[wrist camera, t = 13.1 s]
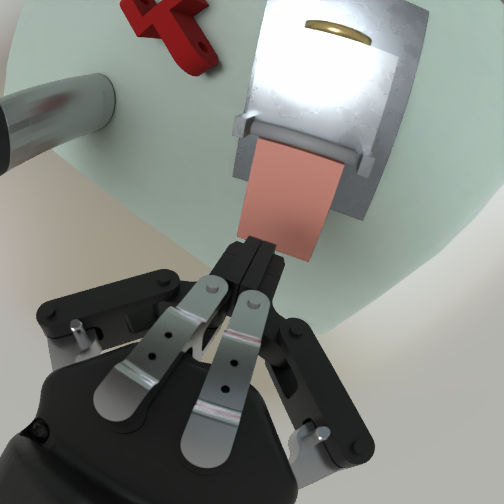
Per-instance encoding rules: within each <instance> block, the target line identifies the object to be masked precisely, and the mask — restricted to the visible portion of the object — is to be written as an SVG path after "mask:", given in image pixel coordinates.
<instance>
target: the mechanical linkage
mask: <svg viewBox="0 0 504 504" xmlns="http://www.w3.org/2000/svg"><path fill="white" fill-rule="evenodd" d="M208 6H209V5H208V3H207V2H206V0H162V1H161V2H160V3H158V4H156V2H155V1H154V0H121V1H120V7H121V9H122V11H123V13H124V14H125V16H126V18H127V20H128V21H129V23H130V25H131V27H132V28H133V30H134V32H135V34H136V35H137V37H147V38H158V39H162V40H163V42H164V44H165V45H166V47H167V49H168V50H169V52H170V54H171V55H172V57H173V59H174V60H175V62H176V63H177V64H178V66H179V67H180V68H181V69H182V70H184V71H185V72H186V73H188V74H190V75H192V76H199V75H201V74H202V73H204V72H206V71H207V70H209V69H210V68H212V67H213V66H215V65H217V64H218V57H217V54H216V53H215V51H214V49H213V48H212V46H211V45H210V43H209V41H208V40H207V38H206V37H205V35H204V33H203V32H202V30H201V29H200V27H199V26H198V24H197V22H196V21H195V19H194V18H193V16H194V15H196V14H197V13H199V12H200V11H202V10H203V9H205V8H206V7H208Z"/></svg>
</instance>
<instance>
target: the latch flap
mask: <svg viewBox="0 0 504 504" xmlns="http://www.w3.org/2000/svg"><path fill="white" fill-rule="evenodd" d="M250 133H251V134H253V135H256V136H260V138H258V140H257V144H256V149H255V153H254V158H253V163H252V167H251V172H250V176H249V181H248V186H247V190H246V195H245V200H244V204H243V209H242V214H241V219H240V223H239V228H238V233H237V237H239V238H242V239H245V240H246V239H247V238H248V236H249V235H250V236H253V237H256V238H259V239H262V240H265V241H268V242H271V243H274V244H277V246H276V251H279V252H282V253H284V254H287V255H290V256H293V257H296V258H298V259H301V260H304V261H307V262H309V261H310V258H311V256H312V253H313V250H314V248H315V245H316V243H317V240H318V238H319V235H320V232H321V230H322V227H323V224H324V222H325V219H326V216H327V214H328V211H329V208H330V205H331V203H332V200H333V197H334V194H335V191H336V189H337V186H338V183H339V180H340V177H341V174H342V171H343V168H344V163H346V164H349V165H352V166H354V164H355V162H356V159H357V155H358V152H356V151H353V150H350V149H348V148H345V147H342V146H339V145H336V144H334V143H331V142H328V141H325V140H322V139H319V138H315V137H312V136H309V135H306V134H303V133H299V132H296V131H292V130H289V129H285V128H282V127H278V126H274V125H270V124H266V123H262V122H258V121H254V122H253V123H252V126H251V130H250ZM263 137H264V138H263ZM267 138H268V139H267ZM271 139H272V140H271ZM274 140H275V141H274ZM278 141H279V142H278ZM285 143H286V144H285ZM288 144H289V145H288ZM295 146H296V147H295ZM298 147H299V148H298ZM308 150H309V151H308ZM311 151H312V152H311ZM314 152H315V153H314ZM317 153H318V154H317ZM320 154H321V155H320ZM323 155H324V156H323ZM326 156H327V157H326ZM329 157H330V158H329ZM332 158H333V159H332ZM340 161H341V162H340ZM343 162H344V163H343Z"/></svg>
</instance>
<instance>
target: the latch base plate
mask: <svg viewBox="0 0 504 504" xmlns="http://www.w3.org/2000/svg"><path fill="white" fill-rule="evenodd" d="M428 15H429V11H427V10H425V9H423V8H421V7H418V6H416V5H414V4H412V3H409V2H407V1H404V0H268V1H267V5H266V9H265V14H264V18H263V22H262V27H261V31H260V36H259V40H258V45H257V50H256V54H255V59H254V64H253V69H252V74H251V79H250V84H249V89H248V94H247V99H246V104H245V109H244V114H241V115H237V116H235V120H234V125H233V131H232V136H236V137H239V142H238V148H237V153H236V159H235V165H234V171H233V177H235V178H239V179H242V180H245V181H249V176H250V172H251V167H252V163H253V158H254V153H255V149H256V144H257V140H258V138H260V136H256V135H253V134H251V133H250V130H251V126H252V123H253V122H254V121H258V122H262V123H266V124H270V125H274V126H278V127H282V128H285V129H289V130H292V131H296V132H299V133H303V134H306V135H309V136H312V137H315V138H319V139H322V140H325V141H328V142H331V143H334V144H336V145H339V146H342V147H345V148H348V149H350V150H353V151H356V152H358V155H357V159H356V162H355V164H354V166H352V165H349V164H346V163H344V162H343V163H344V168H343V171H342V174H341V177H340V180H339V183H338V186H337V189H336V191H335V194H334V197H333V200H332V203H331V205H330V209H333V210H335V211H338V212H341V213H344V214H346V215H349V216H351V217H354V218H357V219H359V220H362V221H363V219H364V216H365V214H366V212H367V209H368V207H369V205H370V202H371V200H372V198H373V195H374V193H375V191H376V188H377V186H378V183H379V181H380V178H381V176H382V173H383V171H384V168H385V165H386V163H387V160H388V157H389V155H390V152H391V149H392V146H393V144H394V141H395V138H396V135H397V132H398V129H399V126H400V123H401V120H402V117H403V114H404V111H405V108H406V105H407V101H408V98H409V95H410V91H411V88H412V84H413V81H414V77H415V73H416V70H417V66H418V62H419V58H420V54H421V49H422V45H423V40H424V36H425V31H426V26H427V21H428ZM307 20H323V21H329V22H334V23H338V24H341V25H345V26H348V27H350V28H353V29H355V30H358V31H360V32H362V33H364V34H366V35H367V36H369V37H370V38H371V39H372V43H371V46H369V45H366V44H363V43H360V42H357V41H354V40H350V39H347V38H344V37H340V36H337V35H333V34H329V33H325V32H321V31H317V30H312V29H308V28H304V25H305V21H307ZM263 138H264V137H263ZM267 139H268V138H267ZM271 140H272V139H271ZM274 141H275V140H274ZM278 142H279V141H278ZM285 144H286V143H285ZM288 145H289V144H288ZM326 157H327V156H326ZM329 158H330V157H329ZM332 159H333V158H332ZM340 162H341V161H340Z"/></svg>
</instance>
